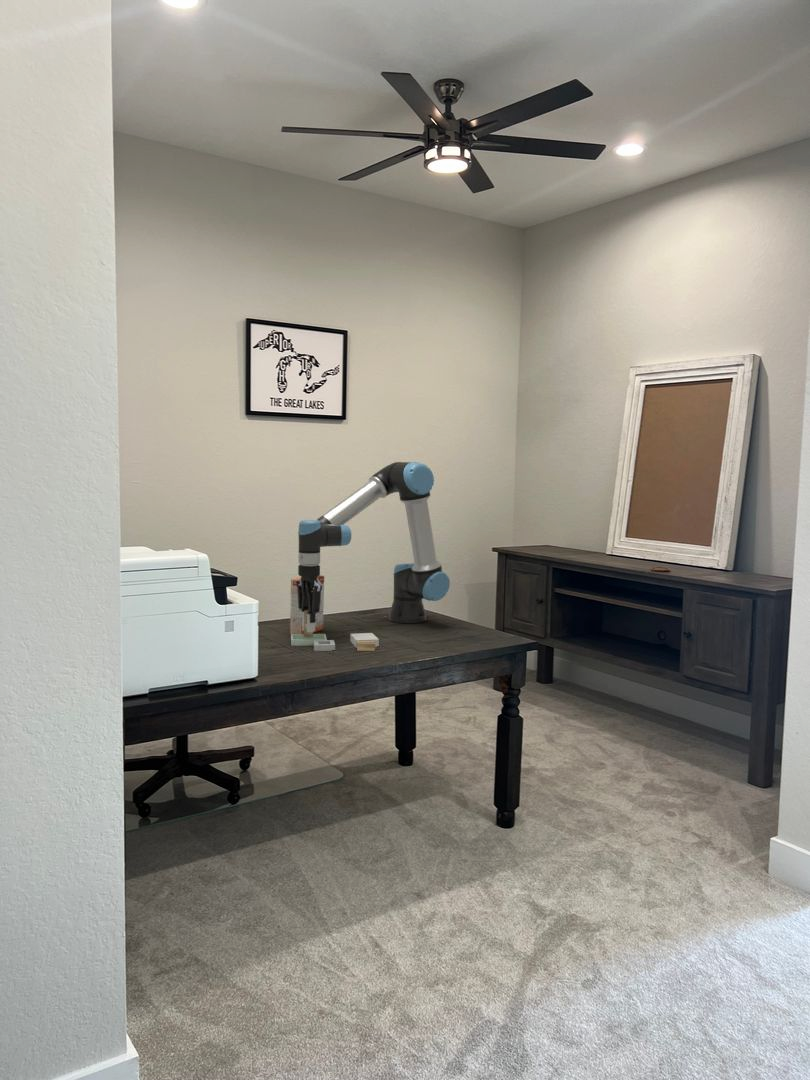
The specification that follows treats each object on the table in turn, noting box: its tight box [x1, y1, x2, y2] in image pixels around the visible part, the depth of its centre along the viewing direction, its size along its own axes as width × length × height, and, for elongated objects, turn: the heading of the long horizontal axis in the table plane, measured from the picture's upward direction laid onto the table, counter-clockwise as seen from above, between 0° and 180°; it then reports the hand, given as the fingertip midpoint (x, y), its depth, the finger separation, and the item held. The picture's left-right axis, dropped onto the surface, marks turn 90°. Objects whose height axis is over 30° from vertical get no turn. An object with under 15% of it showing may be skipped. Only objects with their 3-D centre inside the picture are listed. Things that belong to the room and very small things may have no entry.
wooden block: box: [355, 641, 376, 652], centre depth 267 cm, size 4×6×2 cm, turn 99°
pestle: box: [304, 610, 314, 637], centre depth 274 cm, size 3×3×9 cm
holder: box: [312, 639, 336, 652], centre depth 267 cm, size 7×7×2 cm
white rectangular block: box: [349, 632, 380, 648], centre depth 275 cm, size 10×8×3 cm
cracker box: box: [289, 574, 325, 635], centre depth 289 cm, size 14×6×21 cm, turn 152°
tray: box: [290, 633, 328, 647], centre depth 274 cm, size 9×12×2 cm
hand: (308, 630), depth 274 cm, fingers closed on pestle, 2 cm apart
